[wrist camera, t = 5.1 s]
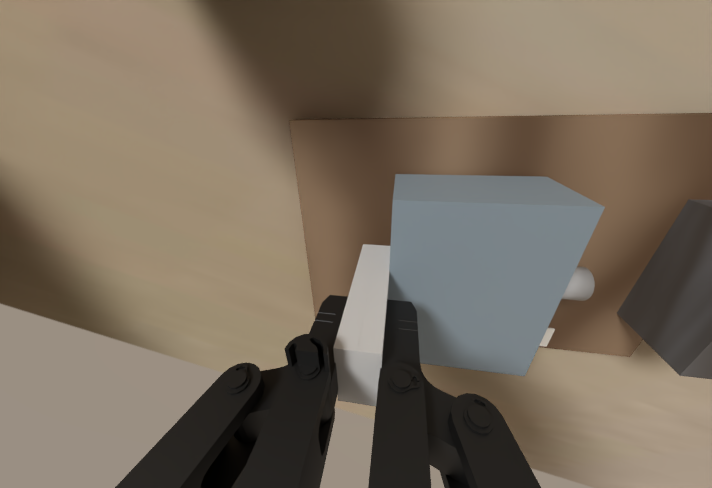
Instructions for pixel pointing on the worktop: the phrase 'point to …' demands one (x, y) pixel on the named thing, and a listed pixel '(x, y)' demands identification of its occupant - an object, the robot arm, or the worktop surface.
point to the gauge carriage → (487, 263)
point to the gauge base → (564, 165)
